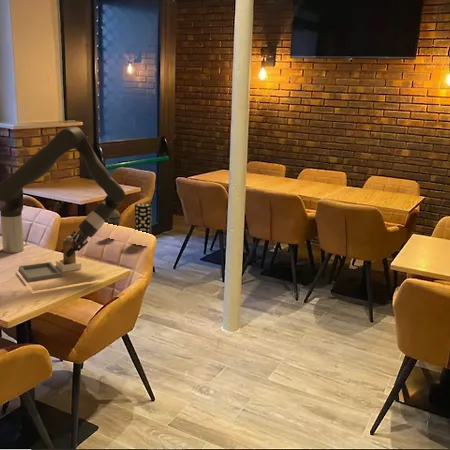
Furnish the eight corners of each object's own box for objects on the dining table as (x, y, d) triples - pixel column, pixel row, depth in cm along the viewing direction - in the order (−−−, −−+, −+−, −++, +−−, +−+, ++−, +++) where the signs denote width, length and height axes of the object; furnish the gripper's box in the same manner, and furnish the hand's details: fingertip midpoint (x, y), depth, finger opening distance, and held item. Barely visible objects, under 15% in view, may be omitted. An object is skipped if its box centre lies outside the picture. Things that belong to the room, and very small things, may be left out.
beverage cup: (121, 236, 275) (121, 199, 270) (119, 240, 268) (118, 202, 263) (107, 235, 275) (107, 199, 270) (105, 239, 268) (104, 202, 263)
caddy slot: (56, 267, 223) (56, 259, 222) (74, 264, 227) (74, 257, 226) (62, 273, 216) (62, 266, 215) (81, 271, 220) (81, 263, 219)
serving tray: (19, 271, 216) (18, 266, 215) (50, 267, 223) (50, 261, 222) (28, 284, 203) (28, 278, 202) (61, 278, 210) (61, 272, 210)
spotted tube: (142, 246, 259) (142, 207, 254) (131, 242, 264) (131, 204, 259) (154, 242, 266) (154, 205, 261) (143, 239, 270) (143, 202, 265)
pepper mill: (62, 266, 222) (61, 236, 219) (73, 264, 225) (72, 234, 222) (65, 269, 218) (64, 239, 215) (77, 267, 221) (76, 237, 217)
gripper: (80, 215, 226) (53, 244, 223) (91, 222, 215) (63, 253, 211) (92, 225, 230) (66, 255, 227) (103, 233, 219) (76, 264, 215)
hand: (65, 254), depth 219 cm, fingers closed on pepper mill, 5 cm apart
